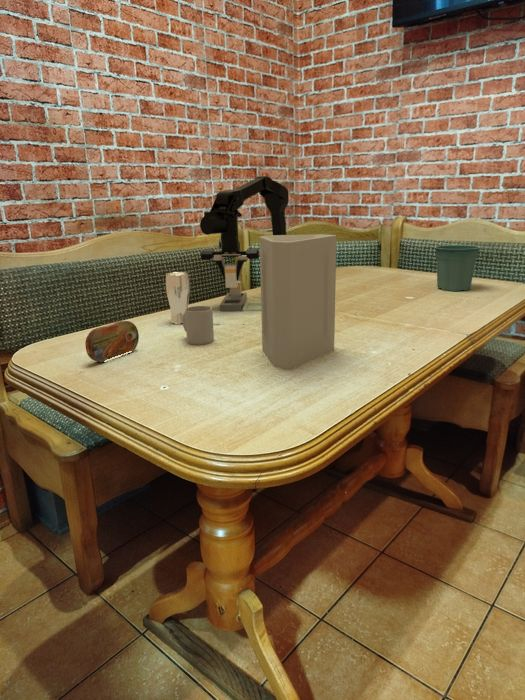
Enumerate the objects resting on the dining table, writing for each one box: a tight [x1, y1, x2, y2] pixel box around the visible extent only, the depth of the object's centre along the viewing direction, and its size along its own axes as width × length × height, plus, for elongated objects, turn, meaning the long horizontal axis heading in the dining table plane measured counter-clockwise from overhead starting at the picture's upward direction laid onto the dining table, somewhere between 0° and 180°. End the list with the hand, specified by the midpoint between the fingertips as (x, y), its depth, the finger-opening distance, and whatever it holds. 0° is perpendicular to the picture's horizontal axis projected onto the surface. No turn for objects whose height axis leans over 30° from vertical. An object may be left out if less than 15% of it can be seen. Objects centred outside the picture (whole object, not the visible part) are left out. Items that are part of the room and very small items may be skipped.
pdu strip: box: [219, 280, 248, 313], centre depth 173 cm, size 7×20×8 cm, turn 177°
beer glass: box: [165, 271, 190, 325], centre depth 154 cm, size 7×7×15 cm
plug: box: [224, 263, 239, 289], centre depth 166 cm, size 4×4×7 cm
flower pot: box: [434, 244, 481, 292], centre depth 194 cm, size 16×16×16 cm
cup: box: [182, 305, 215, 346], centre depth 135 cm, size 7×10×9 cm
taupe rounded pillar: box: [259, 233, 338, 371], centre depth 119 cm, size 19×15×28 cm
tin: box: [84, 320, 140, 363], centre depth 123 cm, size 15×3×8 cm, turn 148°
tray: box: [242, 302, 261, 312], centre depth 169 cm, size 9×9×2 cm
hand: (231, 280), depth 167 cm, fingers closed on plug, 4 cm apart
